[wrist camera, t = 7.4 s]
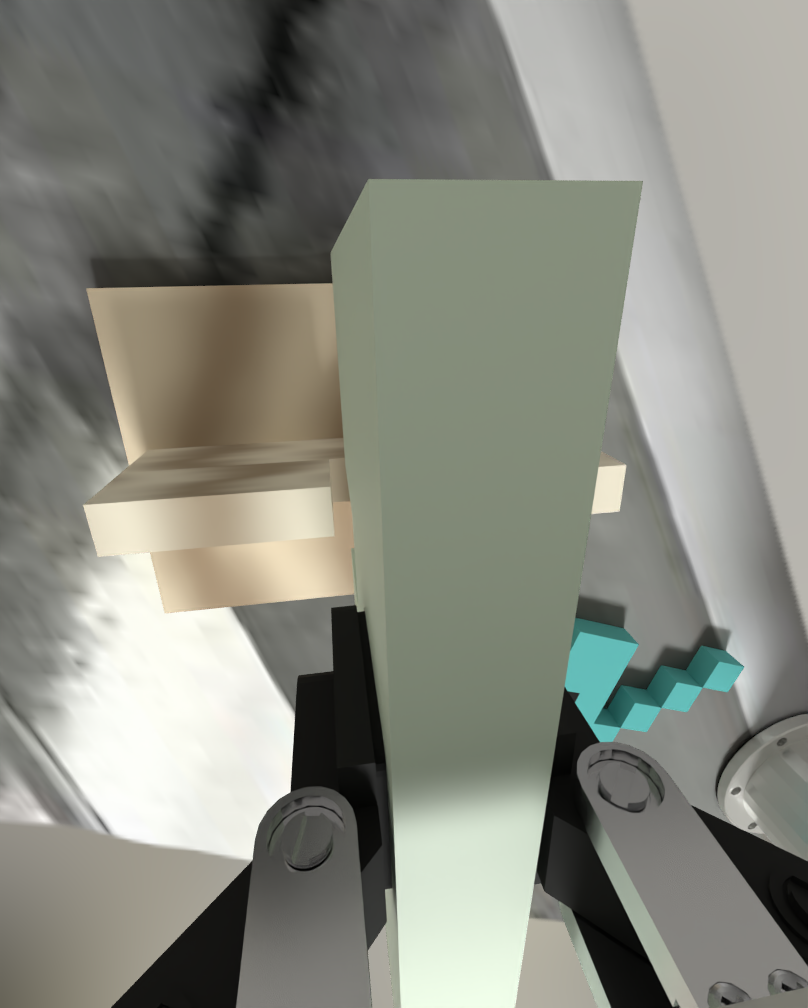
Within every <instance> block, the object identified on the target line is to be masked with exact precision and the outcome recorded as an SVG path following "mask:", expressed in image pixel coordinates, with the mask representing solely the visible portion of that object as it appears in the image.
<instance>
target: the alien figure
mask: <svg viewBox="0 0 808 1008" xmlns="http://www.w3.org/2000/svg"><path fill="white" fill-rule="evenodd" d="M638 645H639V644H638V643H637V642H636V641H635V640H634V639H633V638H632V637H631V636H630V634H629V633H628V632H627V631H626V630H625V629H624V628H620V627H616V626H611V625H607V624H602V623H598V622H593V621H589V620H584V619H580V618H575V622H574V629H573V635H572V642H571V648H570V655H569V661H568V668H567V674H566V680H565V688H566V689H567V691H568V692H569V694H570V696H571V697H572V699H573V700H574V702H575V703H576V705H577V707H578V708H579V710H580V711H581V713H582V714H583V716H584V718H585V719H586V721H587V722H588V724H589V725H590V727H591V729H592V730H593V732H594V733H595V735H596V737H597V738H598V740H599V741H600V742H612V741H613V740H614V738H615V736H616V735H617V733H618V731H619V730H620V728H624V729H631V730H637V731H643V732H647V730H648V729H649V727H650V726H651V724H652V722H653V721H654V719H655V718H656V716H657V714H658V713H659V711H660V709H661V708H666V709H672V710H677V711H683V712H687V711H688V710H689V708H690V707H691V705H692V704H693V702H694V700H695V699H696V697H697V696H698V694H699V693H700V691H701V690H702V688H708V689H713V690H718V691H724V692H728V691H729V690H730V688H731V687H732V685H733V683H734V682H735V680H736V679H737V677H738V676H739V674H740V673H741V671H742V670H743V668H744V666H743V665H741V664H740V663H739V662H738V661H737V660H736V659H734V658H733V657H732V656H731V655H730V654H729V653H727V652H726V651H724V650H719V649H715V648H710V647H706V646H701V647H700V648H699V650H698V652H697V653H696V655H695V656H694V658H693V660H692V661H691V663H690V665H689V666H688V668H687V669H686V670H681V669H677V668H672V667H667V666H662V665H661V666H660V668H659V670H658V671H657V673H656V675H655V676H654V678H653V680H652V681H651V683H650V685H649V686H648V688H647V690H645V689H640V688H634V687H629V686H623V685H621V686H620V688H619V690H618V691H617V693H616V695H615V696H614V698H613V700H612V702H611V703H610V705H609V707H608V709H604V708H603V706H604V705H605V703H606V701H607V699H608V698H609V696H610V694H611V692H612V691H613V689H614V687H615V685H616V684H617V682H618V680H619V678H620V677H621V675H622V673H623V671H624V670H625V668H626V666H627V664H628V662H629V661H630V659H631V657H632V655H633V654H634V652H635V650H636V648H637V647H638Z"/></svg>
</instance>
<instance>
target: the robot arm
mask: <svg viewBox="0 0 808 1008" xmlns="http://www.w3.org/2000/svg"><path fill="white" fill-rule="evenodd" d="M331 614H332V643H333V671H331V672H323V673H315V674H307V675H299V676H298V681H297V695H296V711H295V728H294V744H293V760H292V777H291V792H290V793H289V794H287V795H285V796H284V797H282V798H280V799H279V800H278V801H277V802H276V803H275V804H274V805H273V806H272V807H271V808H270V809H269V810H268V811H267V812H266V814H265V816H264V817H263V819H262V821H261V822H260V824H259V827H258V831H257V834H256V838H255V844H254V853H253V861H252V862H251V863H250V864H249V865H248V866H247V867H246V868H245V869H244V870H243V871H242V872H241V873H240V874H239V875H238V876H237V877H236V878H235V879H234V881H232V882H231V883H230V884H229V886H228V887H227V888H226V889H225V890H224V891H223V892H222V893H221V894H220V895H219V896H218V897H217V898H216V899H215V900H214V901H213V902H212V903H211V904H210V905H209V906H208V907H207V909H205V911H204V912H203V913H202V914H201V915H200V916H199V917H198V918H197V919H196V920H195V921H194V922H193V923H192V924H191V925H190V926H189V927H188V928H187V929H186V930H185V931H184V932H183V933H182V934H181V936H180V937H179V938H178V939H177V940H176V941H175V942H174V943H173V944H172V945H171V946H170V947H169V948H168V949H167V950H166V951H165V952H164V953H163V954H162V955H161V956H160V957H159V958H158V959H157V960H156V961H155V962H154V964H153V965H152V966H151V967H150V968H149V969H148V970H147V971H146V972H145V973H144V974H143V975H142V976H141V977H140V978H139V979H138V980H137V981H136V982H135V983H134V985H132V986H131V987H130V989H128V991H127V992H126V993H125V994H124V995H123V996H122V997H121V998H120V999H119V1000H118V1001H117V1002H116V1003H115V1004H114V1005H113V1006H112V1007H111V1008H372V999H371V987H370V974H369V961H368V949H369V948H370V946H371V945H372V943H373V942H374V940H375V939H376V937H377V936H378V934H379V933H380V931H381V930H382V928H383V927H384V925H385V924H386V922H387V914H386V897H385V889H391V888H392V869H391V849H390V829H389V809H388V789H387V771H386V759H385V750H384V742H383V735H382V728H381V721H380V714H379V707H378V700H377V693H376V686H375V679H374V672H373V665H372V658H371V651H370V644H369V637H368V630H367V623H366V616H365V611H362V612H357V606H356V605H354V606H345V607H335V608H331ZM717 797H718V804H719V806H720V808H721V810H722V812H723V813H724V814H725V815H726V817H727V818H728V819H729V820H730V821H731V823H732V824H734V825H735V826H736V827H735V826H733V825H731V824H729V823H727V822H725V821H723V820H721V819H719V818H717V817H715V816H712V815H710V814H708V813H706V812H704V811H702V810H700V809H698V808H696V807H694V806H692V805H690V803H689V802H688V800H687V799H686V798H685V796H684V795H683V794H682V792H681V791H680V789H679V788H678V787H677V785H676V784H675V783H674V781H673V780H672V778H671V777H670V776H669V774H668V773H667V772H666V771H665V770H664V768H663V767H662V766H661V765H660V764H659V763H658V762H657V761H656V760H655V759H653V758H652V757H650V756H649V755H648V754H646V753H645V752H643V751H641V750H639V749H637V748H634V747H632V746H630V745H626V744H622V743H618V742H600V741H599V740H598V738H597V737H596V735H595V733H594V732H593V730H592V729H591V727H590V725H589V724H588V722H587V721H586V719H585V718H584V716H583V714H582V713H581V711H580V710H579V708H578V707H577V705H576V703H575V702H574V700H573V699H572V697H571V696H570V694H569V692H568V691H567V689H566V688H565V687H564V693H563V700H562V706H561V713H560V719H559V726H558V732H557V739H556V745H555V751H554V758H553V764H552V771H551V777H550V784H549V790H548V797H547V803H546V810H545V816H544V822H543V829H542V835H541V842H540V848H539V855H538V861H537V868H536V874H535V881H534V884H539V883H541V884H542V886H543V889H544V891H545V892H546V893H548V894H549V895H551V896H552V897H554V898H555V899H557V900H558V902H559V906H560V910H561V914H562V917H563V919H564V922H565V925H566V927H567V930H568V932H569V935H570V937H571V940H572V943H573V945H574V948H575V951H576V953H577V956H578V958H579V961H580V964H581V966H582V969H583V971H584V974H585V977H586V979H587V982H588V984H589V987H590V989H591V992H592V995H593V997H594V1000H595V1003H596V1005H597V1008H808V714H801V715H798V716H794V717H791V718H788V719H785V720H783V721H780V722H778V723H776V724H774V725H772V726H770V727H768V728H767V729H765V730H763V731H762V732H760V733H759V734H757V735H756V736H755V737H753V738H752V739H751V740H749V741H748V742H747V743H746V744H745V745H744V746H743V747H742V748H741V749H740V750H739V751H738V752H737V753H736V754H735V755H734V756H733V758H732V759H731V760H730V761H729V763H728V764H727V766H726V768H725V770H724V771H723V773H722V776H721V779H720V781H719V784H718V792H717ZM737 827H738V828H737ZM746 831H747V832H746ZM748 832H753V833H765V835H766V836H767V837H768V838H769V839H770V841H771V842H772V843H773V844H774V845H773V844H771V843H769V842H767V841H765V840H762V839H760V838H758V837H756V836H754V835H752V834H750V833H748Z"/></svg>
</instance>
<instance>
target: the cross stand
mask: <svg viewBox="0 0 808 1008" xmlns="http://www.w3.org/2000/svg"><path fill="white" fill-rule="evenodd" d="M86 290H87V294H88V298H89V302H90V306H91V310H92V314H93V318H94V323H95V327H96V331H97V335H98V339H99V343H100V347H101V351H102V356H103V360H104V364H105V368H106V372H107V376H108V380H109V385H110V389H111V393H112V397H113V401H114V405H115V409H116V413H117V418H118V422H119V426H120V430H121V434H122V438H123V442H124V447H125V451H126V455H127V459H128V463H129V467H127V468H126V469H125V470H124V471H123V472H122V473H120V474H119V475H118V476H117V477H116V478H114V479H113V480H112V481H111V482H110V483H109V484H107V485H106V486H105V487H104V488H103V489H102V490H100V491H99V492H98V493H97V494H96V495H94V496H93V497H92V498H91V499H90V500H89V501H87V502H86V503H85V504H84V505H83V506H84V509H85V513H86V516H87V520H88V523H89V527H90V530H91V534H92V537H93V541H94V544H95V548H96V551H97V555H98V557H102V556H113V555H125V554H136V553H148V552H150V554H151V558H152V562H153V566H154V571H155V575H156V579H157V583H158V587H159V591H160V595H161V599H162V604H163V608H164V612H165V613H174V612H183V611H193V610H203V609H213V608H222V607H232V606H242V605H252V604H261V603H271V602H281V601H291V600H301V599H310V598H320V597H330V596H340V595H349V594H354V583H353V569H352V554H351V548H354V535H353V520H352V510H351V503H350V495H349V488H348V481H347V474H346V467H345V454H344V440H343V425H342V411H341V397H340V382H339V368H338V354H337V339H336V325H335V311H334V296H333V283H323V284H275V285H228V286H180V287H132V288H86ZM625 471H626V464H624V463H622V462H620V461H618V460H616V459H614V458H612V457H611V456H609V455H607V454H605V453H603V452H601V455H600V461H599V467H598V474H597V480H596V487H595V493H594V500H593V506H592V513H591V514H597V513H608V512H619V511H620V504H621V497H622V491H623V484H624V477H625Z"/></svg>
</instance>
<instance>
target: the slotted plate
mask: <svg viewBox="0 0 808 1008" xmlns="http://www.w3.org/2000/svg"><path fill="white" fill-rule="evenodd" d="M642 184H643V181H556V180H417V179H368V181H367V183H366V185H365V187H364V189H363V191H362V193H361V195H360V197H359V198H358V200H357V202H356V204H355V206H354V208H353V210H352V212H351V214H350V216H349V218H348V220H347V222H346V224H345V226H344V228H343V230H342V231H341V233H340V235H339V237H338V239H337V241H336V243H335V245H334V247H333V249H332V251H331V267H332V282H333V296H334V311H335V325H336V339H337V354H338V368H339V382H340V397H341V411H342V425H343V440H344V454H345V467H346V474H347V481H348V488H349V495H350V503H351V510H352V520H353V535H354V548H351V554H352V569H353V583H354V598H355V605H356V606H357V612H362V611H365V616H366V623H367V630H368V637H369V644H370V651H371V658H372V665H373V672H374V679H375V686H376V693H377V700H378V707H379V714H380V721H381V728H382V735H383V742H384V750H385V759H386V771H387V789H388V809H389V829H390V849H391V869H392V888H391V889H385V897H386V914H387V922H386V924H385V926H386V936H387V945H388V955H389V965H390V975H391V985H392V994H393V1004H394V1008H515V1002H516V997H517V989H518V984H519V977H520V971H521V964H522V958H523V952H524V945H525V939H526V932H527V926H528V919H529V913H530V906H531V900H532V893H533V887H534V881H535V874H536V868H537V861H538V855H539V848H540V842H541V835H542V829H543V822H544V816H545V810H546V803H547V797H548V790H549V784H550V777H551V771H552V764H553V758H554V751H555V745H556V739H557V732H558V726H559V719H560V713H561V706H562V700H563V693H564V687H565V680H566V674H567V668H568V661H569V655H570V648H571V642H572V635H573V629H574V622H575V616H576V609H577V603H578V597H579V590H580V584H581V577H582V571H583V564H584V558H585V551H586V545H587V538H588V532H589V526H590V519H591V513H592V506H593V500H594V493H595V487H596V480H597V474H598V467H599V461H600V455H601V448H602V442H603V435H604V429H605V422H606V416H607V409H608V403H609V396H610V390H611V384H612V377H613V371H614V364H615V358H616V351H617V345H618V338H619V332H620V325H621V319H622V313H623V306H624V300H625V293H626V287H627V280H628V274H629V267H630V261H631V254H632V248H633V242H634V235H635V229H636V222H637V216H638V209H639V203H640V196H641V190H642Z"/></svg>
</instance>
